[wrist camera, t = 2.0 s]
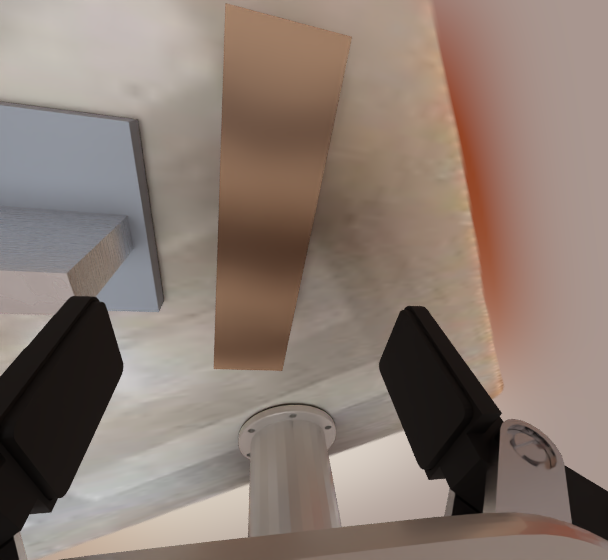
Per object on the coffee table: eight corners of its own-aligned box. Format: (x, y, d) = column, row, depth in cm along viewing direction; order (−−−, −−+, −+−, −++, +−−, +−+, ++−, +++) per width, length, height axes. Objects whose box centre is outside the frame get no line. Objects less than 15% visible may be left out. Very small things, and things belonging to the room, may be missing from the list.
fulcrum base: (163, 301, 26) (158, 312, 24) (-88, 293, 22) (-109, 305, 21) (137, 119, 18) (128, 121, 17) (-243, 69, 15) (-288, 68, 14)
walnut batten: (277, 312, 28) (282, 370, 22) (223, 308, 27) (213, 368, 21) (321, 54, 18) (351, 37, 12) (237, 33, 17) (225, 3, 11)
